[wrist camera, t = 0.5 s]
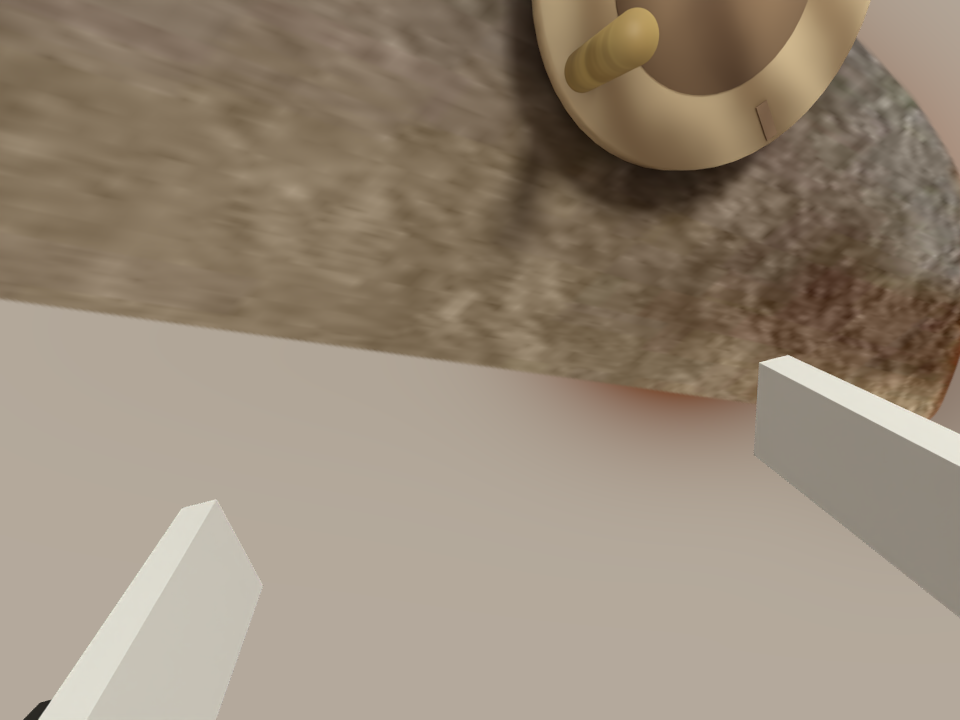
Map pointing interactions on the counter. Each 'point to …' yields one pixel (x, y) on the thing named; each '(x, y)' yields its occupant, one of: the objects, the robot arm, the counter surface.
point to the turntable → (691, 71)
